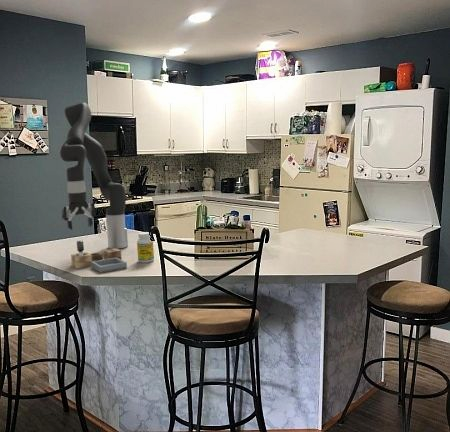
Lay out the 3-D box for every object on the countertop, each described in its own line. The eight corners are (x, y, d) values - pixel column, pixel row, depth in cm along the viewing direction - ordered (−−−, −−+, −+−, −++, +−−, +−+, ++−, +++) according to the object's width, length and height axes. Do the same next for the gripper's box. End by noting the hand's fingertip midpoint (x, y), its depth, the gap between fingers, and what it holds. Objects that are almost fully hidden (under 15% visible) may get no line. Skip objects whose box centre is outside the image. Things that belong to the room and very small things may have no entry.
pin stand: (99, 258, 235) (98, 252, 234) (102, 260, 231) (102, 254, 230) (88, 260, 232) (88, 254, 232) (92, 262, 228) (91, 256, 228)
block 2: (116, 258, 234) (115, 248, 233) (121, 261, 229) (120, 250, 228) (104, 260, 231) (103, 250, 230) (109, 263, 226) (108, 252, 225)
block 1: (87, 262, 228) (86, 252, 227) (92, 265, 222) (91, 254, 221) (71, 265, 224) (70, 254, 223) (76, 268, 218) (75, 257, 217)
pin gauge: (84, 264, 225) (81, 240, 223) (86, 265, 223) (84, 241, 221) (78, 265, 224) (75, 241, 222) (80, 266, 221) (77, 242, 219)
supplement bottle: (153, 258, 232) (151, 231, 230) (154, 261, 225) (153, 233, 223) (137, 259, 231) (136, 232, 229) (138, 263, 224) (136, 235, 222)
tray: (116, 263, 225) (116, 257, 225) (126, 268, 216) (126, 262, 215) (91, 267, 219) (91, 261, 219) (100, 272, 210) (100, 266, 209)
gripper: (89, 189, 225) (93, 224, 227) (57, 192, 217) (61, 229, 219) (95, 190, 218) (99, 226, 221) (63, 193, 211) (66, 231, 213)
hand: (80, 227), depth 220 cm, fingers open, 8 cm apart
